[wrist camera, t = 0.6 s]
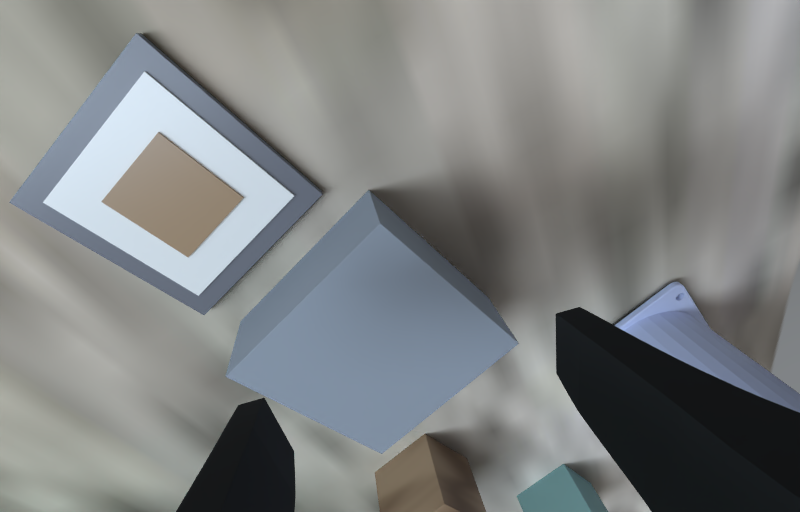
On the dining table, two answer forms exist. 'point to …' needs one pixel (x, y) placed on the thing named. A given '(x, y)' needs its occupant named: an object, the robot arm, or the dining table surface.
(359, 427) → the slate base block
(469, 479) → the walnut block
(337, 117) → the dining table surface
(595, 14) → the dining table surface
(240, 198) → the card
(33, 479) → the dining table surface
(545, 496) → the green block
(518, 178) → the dining table surface
